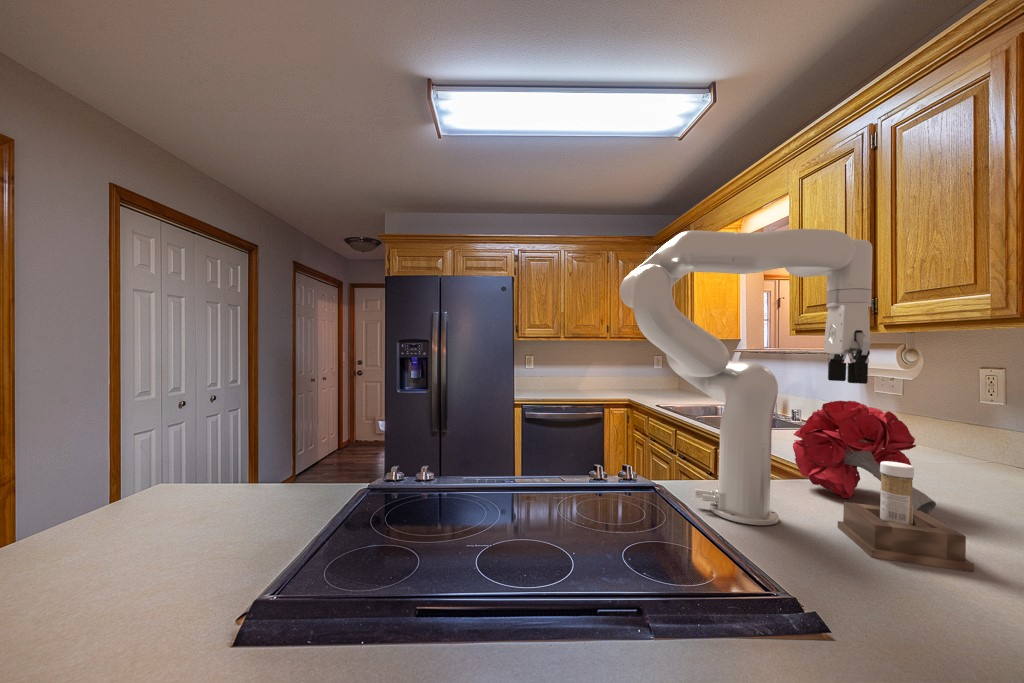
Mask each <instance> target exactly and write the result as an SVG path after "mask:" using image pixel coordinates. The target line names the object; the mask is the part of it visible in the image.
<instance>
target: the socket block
mask: <svg viewBox="0 0 1024 683" xmlns="http://www.w3.org/2000/svg"><path fill="white" fill-rule="evenodd" d="M837 528H838V529H839V530H840V531H841V532H843V533H844V535H846V536H847V538H849V539H850V540H851V541H852V542H853V543H855V544H856V545H857V546H858V547H859V548H860V549H862V551H864V552H865V553H866V554H867V555H868V556H869V557H871V558H875V559H881V560H890V561H894V562H895V561H896V562H903V563H910V564H915V565H917V564H918V565H922V566H923V565H924V566H931V567H936V568H937V567H938V568H945V569H951V570H958V571H966V572H972V573H974V572H975V564H974V563H973V562H971V561H970V560H968V559H966V556H967V555H966V554H967V553H966V549H967V548H966V546H967V536H966V535H965V534H963V533H961V532H959V531H958V530H955V529H953V528H952V527H950V526H948V525H947V524H945V523H943V522H941V521H939V520H938V519H936V518H934V517H933V516H930V515H929V514H925V513H923V512H922V511H918V510H913V524H912V525H906V524H898V523H890V522H884V521H883V520H881V518H880V505H874V504H873V505H872V504H866V503H865V504H864V503H855V502H847V501H843V520H841V521H840V520H838V521H837Z"/></svg>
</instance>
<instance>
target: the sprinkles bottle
mask: <svg viewBox="0 0 1024 683" xmlns="http://www.w3.org/2000/svg"><path fill="white" fill-rule="evenodd" d="M880 472H881V481H880V505H879V506H880V518H881V520H883V521H884V522H890V523H898V524H906V525H912V524H913V506H912V487H913V480H914V477H915V467H914V466H913V465H912V464H911V465H908V464H904V463H898V462H889V461H883V462H881V463H880Z"/></svg>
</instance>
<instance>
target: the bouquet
mask: <svg viewBox="0 0 1024 683" xmlns="http://www.w3.org/2000/svg"><path fill="white" fill-rule="evenodd" d="M793 436H795V437H798V438H799V439H794V442H793V443H792V449H793V451H794V457H795V458H794V460H795V464H796V466H797V468H798V470H799V473H800V474H801V476H802V477H805V478H808V479H809V481H810V482H811V484H812V485H815V486H821V487H822V488H825V489H826V490H829V491H830V492H832V493H833V494H837V495H839V496H841V497H842V498H844V499H850V498H851V497H852V496H853V495H854V494H855V489H856V488H857V487H858V484H859V483H860V481H861V475H860V471H859V470H858V468H861V469H863V470H865V471H867V472H868V473H870V474H871V475H873V477H874V478H876V479H877V480H879V482H881V472H880V463H881V462H883V461H889V462H898V463H904V464H908V465H911V466H912V464H911V460H910V458H909V457H907V455H906V454H905V453H903V452H902V451H910V450H911V449H913V448H916V447H917V444H915V442H916V441H915V440H916V438H915V437H914V436H913V434H912V433H910V430H909V428H908V426H907V424H906V423H904V422H903V421H902V420H900V419H899V418H898V417H897V416H896V414H894V413H893V412H892V411H887V410H886V412H883V410H880V409H878V408H876V407H870V406H868V405H866V404H863V403H861V402H858V401H855V400H848V401H847V400H846V401H845V400H834V401H829V402H825V403H822V406H821V409H817V410H816V411H813V412H812V414H811V415H810V416H809V417H808V418H807V420H806V421H805V424H803V425H801V427H800V428H799V429H797V430H796V431H795V432H794V433H793ZM936 505H937V503H936V502H935V501H934V500H933V499H932V498H931V497H929V496H928V495H927V494H925V492H922V491H920V490H919V489H917V488H915V487H913V486H912V506H913V510H918V511H922V512H923V513H925V514H927V515H929V514H930V513H931V512H932V511H933V510H934V509H935V508H936Z"/></svg>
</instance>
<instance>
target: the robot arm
mask: <svg viewBox="0 0 1024 683" xmlns="http://www.w3.org/2000/svg"><path fill="white" fill-rule="evenodd" d="M777 269H785V270H786V272H787V273H789V274H790V275H792V276H794V277H799V278H811V277H818V276H819V277H823V276H825V277H826V304H825V305H826V309H827V314H826V321H825V329H824V330H825V332H824V340H823V341H824V344H823V351H824V352H825V353H826V354H827V355H828V358H827V379H828V381H830V382H831V381H832V382H837V381H838V382H845V381H846V380H847V383H848V384H861V385H862V384H863V385H865V384H868V380H869V379H868V378H869V374H868V373H869V372H868V370H869V362H870V358H869V356H870V354H871V352H870V348H871V344H872V341H871V330H870V329H871V328H870V326H871V325H870V313H869V312H870V311H869V308H871V307H872V289H873V288H872V282H873V245H872V243H871V242H870V241H869V240H867V239H859V238H858V239H854V238H852V237H851V236H849V235H848V234H847V233H845V232H842V231H838V230H835V229H818V228H817V229H816V228H795V229H794V228H793V229H781V230H771V231H770V230H768V231H757V232H755V231H754V232H731V231H713V230H711V231H710V230H687V231H683V232H680V233H678V234H677V235H675V236H674V237H673V238H671V239H670V240H669V241H667V242H666V243H664V244H663V245H662V246H661V247H660V248H658V250H657V251H656V252H654V253H653V254H652V255H650V257H648V258H647V259H646V260H645V261H644V262H643V263H641V264H640V265H639V266H637V267H636V268H635V269H634V270H632V271H631V272H630V273H629V274H628V275H626V277H624V278H623V280H622V281H621V284H620V287H619V297H620V299H621V301H622V303H624V304H625V306H626V307H628V308H630V309H632V311H633V315H634V320H635V322H636V325H637V327H638V329H639V330H640V332H641V333H642V334H643V336H644V337H645V339H647V340H648V341H649V342H650V343H652V345H654V346H656V348H658V349H659V350H660V351H662V352H663V353H664V354H665V356H666V361H667V364H668V365H669V367H670V368H671V370H673V371H674V373H675V374H677V375H678V376H679V377H680V378H682V379H684V380H685V381H686V382H688V383H689V384H691V385H692V386H694V387H695V388H696V389H698V390H700V391H701V392H703V394H706V395H707V396H709V397H710V398H712V399H713V400H714V401H718V402H720V403H724V407H723V411H722V413H721V418H720V422H719V425H720V426H719V455H718V456H719V457H718V459H719V460H718V461H719V462H718V485H714V488H710V490H707V489H703V488H694V496H693V497H694V498H696V499H701V501H703V502H710V503H709V509H710V511H711V512H712V514H714V515H715V516H718V517H720V518H723V519H725V520H728V521H732V522H736V523H740V524H745V525H752V526H772V525H775V524H777V523H778V522H779V514H778V512H776V511H775V510H774V509H772V508H771V481H772V480H771V475H772V472H771V471H772V434H773V433H772V431H773V419H774V418H773V417H774V412H775V407H776V404H777V399H778V394H779V393H778V392H779V386H778V381H777V380H778V379H776V376H775V374H774V373H773V371H771V370H770V369H769V368H768V367H767V366H764V365H763V364H760V363H757V362H753V361H737V360H735V361H732V360H730V352H729V350H728V347H727V346H726V345H725V343H723V341H722V340H721V339H720V338H718V337H716V336H715V335H713V334H711V333H710V332H708V331H707V330H705V329H704V328H703V327H702V326H700V325H699V324H697V323H695V322H694V321H692V320H691V319H689V318H688V317H687V316H686V315H684V314H683V313H682V312H681V311H680V310H679V309H678V308H677V306H676V304H675V300H674V297H673V286H674V285H676V284H677V282H679V280H682V278H683V277H684V276H686V275H687V274H690V273H694V272H695V273H715V274H716V273H718V274H719V273H720V274H731V275H732V274H734V275H748V274H757V273H761V272H763V273H764V272H767V271H771V270H777ZM847 357H848V359H849V362H845V360H846V358H847Z"/></svg>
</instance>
